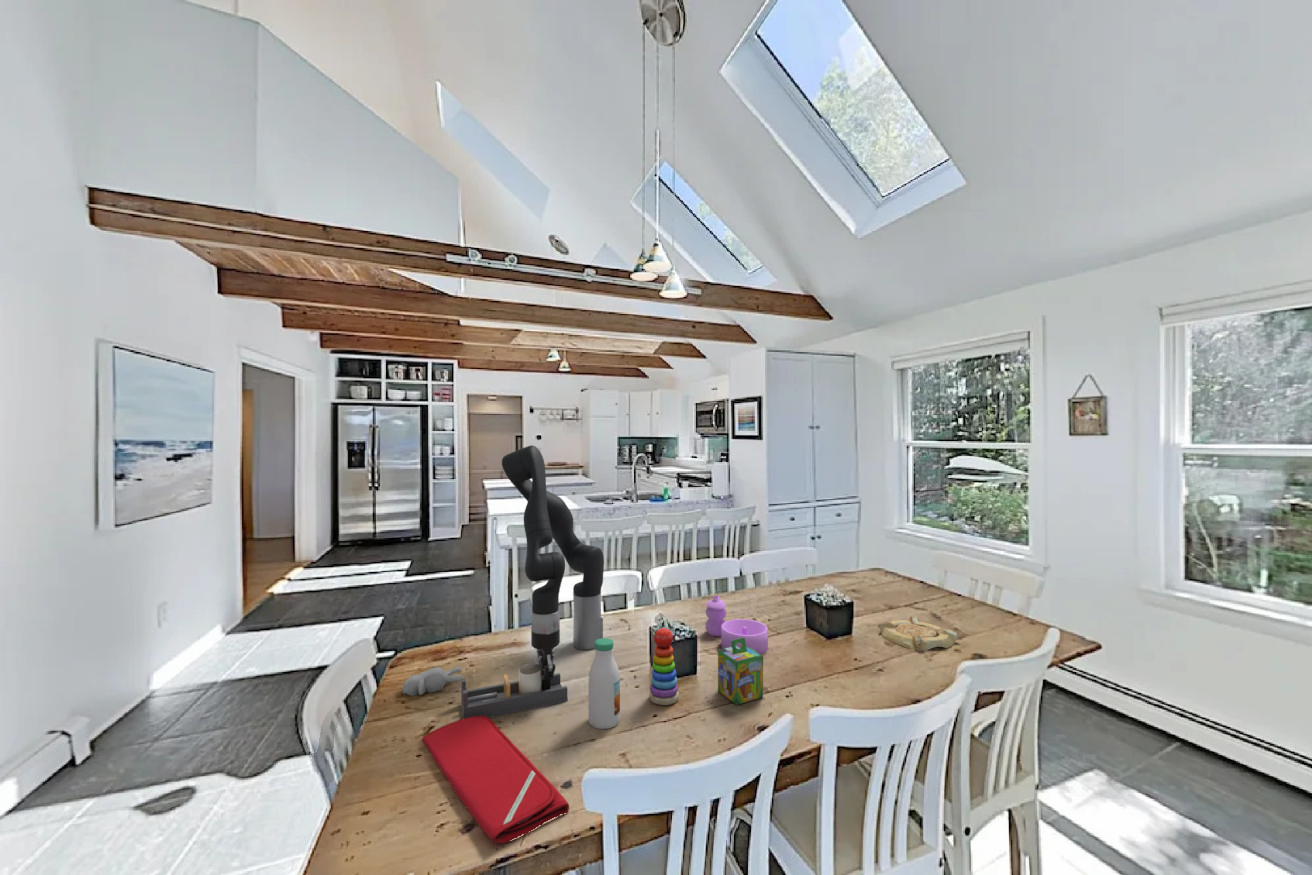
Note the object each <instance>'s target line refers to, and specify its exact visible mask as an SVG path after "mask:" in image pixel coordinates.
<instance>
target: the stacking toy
mask: <svg viewBox="0 0 1312 875" xmlns="http://www.w3.org/2000/svg"><path fill="white" fill-rule="evenodd" d="M653 637H654V638H653V640H654V643H655V645H656V646H655V647H654V650H653V651H654V655H653V657H652V660H653V662H652V672H651V675H652V677H651V680H650V681H651V684H650V686H649V691H650V692H649V695H648V696H649V699H650V700H651V702H652V703H654V704H656V705H660V706H669V705H673V704H675V703H676V702H678V700H679V698H680V693H679V691H678V690H679V688H678V677H677V671H676V664H675V661H674V658H675V657H674V655H673V652H674V648H673V647H672V646H671V645H672V644H673V641H674V640H673V639H674V636H673V632H672V631H671V630H669V629H668V628H665V627H661V628H659V629H657V630H656V631H655V633H654V636H653Z"/></svg>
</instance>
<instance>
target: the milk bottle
mask: <svg viewBox="0 0 1312 875" xmlns="http://www.w3.org/2000/svg"><path fill="white" fill-rule="evenodd" d="M613 651H614V641H613V639H612V638H608V637H603V638H601V639H598V640H596V641H595V648H594V652H595V655H594V658H593V662H592V664H591V666H590V669H589V672H588V723H589V725H590V726H591V727H592V728H595V729H599V730H608V729H612V728H614V727H616V726H618V724H619V723H620V720H621V692H620V691H621V689H620V688H621V686H620V685H621V680H620V678H621V677H620V671H619V667H618V664H617V662H616V659H615V657H614V653H613Z"/></svg>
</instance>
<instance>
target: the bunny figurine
mask: <svg viewBox="0 0 1312 875" xmlns="http://www.w3.org/2000/svg"><path fill="white" fill-rule="evenodd" d="M459 672H462V666H460V665H459V666H458V665H457V666H455V667H453V668H450V669H449V670H447V671H446V670H445V669H443V668H442V667H441V666H436V667H432V668H429V669H428V670H426V671H422V672H420V673H419V674H412V675H411V676H409V677H408V678H407V680H406V681H403V685H402V688H401V689H402V694H404V695H405V694H406V695H408V696H411V697H412V696H418V695H421V696H423V694H425V693H436V692H437V691H438V692H439V691H442V689H443V688H444V687H445V685H446V683H459V682H461V679H462V678H463V677H462V675H461V674H459ZM457 673H458V674H457Z"/></svg>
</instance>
